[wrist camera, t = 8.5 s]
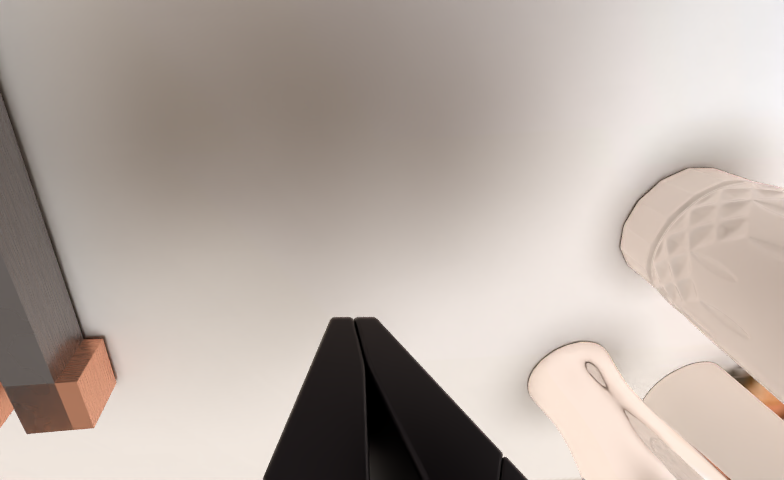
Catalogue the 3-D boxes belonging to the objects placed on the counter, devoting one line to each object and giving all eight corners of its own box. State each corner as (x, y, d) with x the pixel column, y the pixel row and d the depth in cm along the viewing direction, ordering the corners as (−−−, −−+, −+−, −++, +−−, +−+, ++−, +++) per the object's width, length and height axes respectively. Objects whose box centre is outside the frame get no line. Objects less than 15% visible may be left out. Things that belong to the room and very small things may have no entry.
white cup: (582, 254, 23) (751, 400, 14) (684, 129, 20) (971, 217, 11) (664, 293, 26) (843, 433, 17) (762, 190, 23) (1034, 295, 14)
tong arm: (-148, -103, 11) (-264, -132, 9) (-27, -84, 11) (-106, -107, 9) (55, 386, 20) (24, 434, 18) (116, 382, 20) (93, 428, 18)
